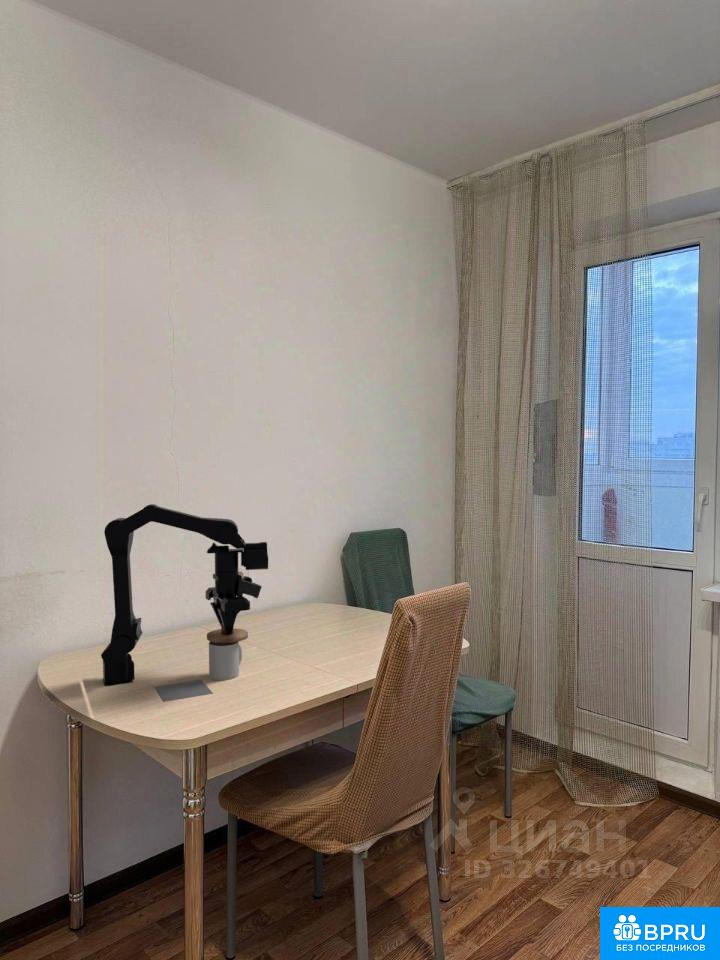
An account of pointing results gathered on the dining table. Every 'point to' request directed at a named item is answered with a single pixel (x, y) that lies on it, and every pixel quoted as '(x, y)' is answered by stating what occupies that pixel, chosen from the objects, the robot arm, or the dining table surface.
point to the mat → (182, 690)
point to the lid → (222, 637)
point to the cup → (224, 660)
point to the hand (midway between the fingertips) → (227, 633)
